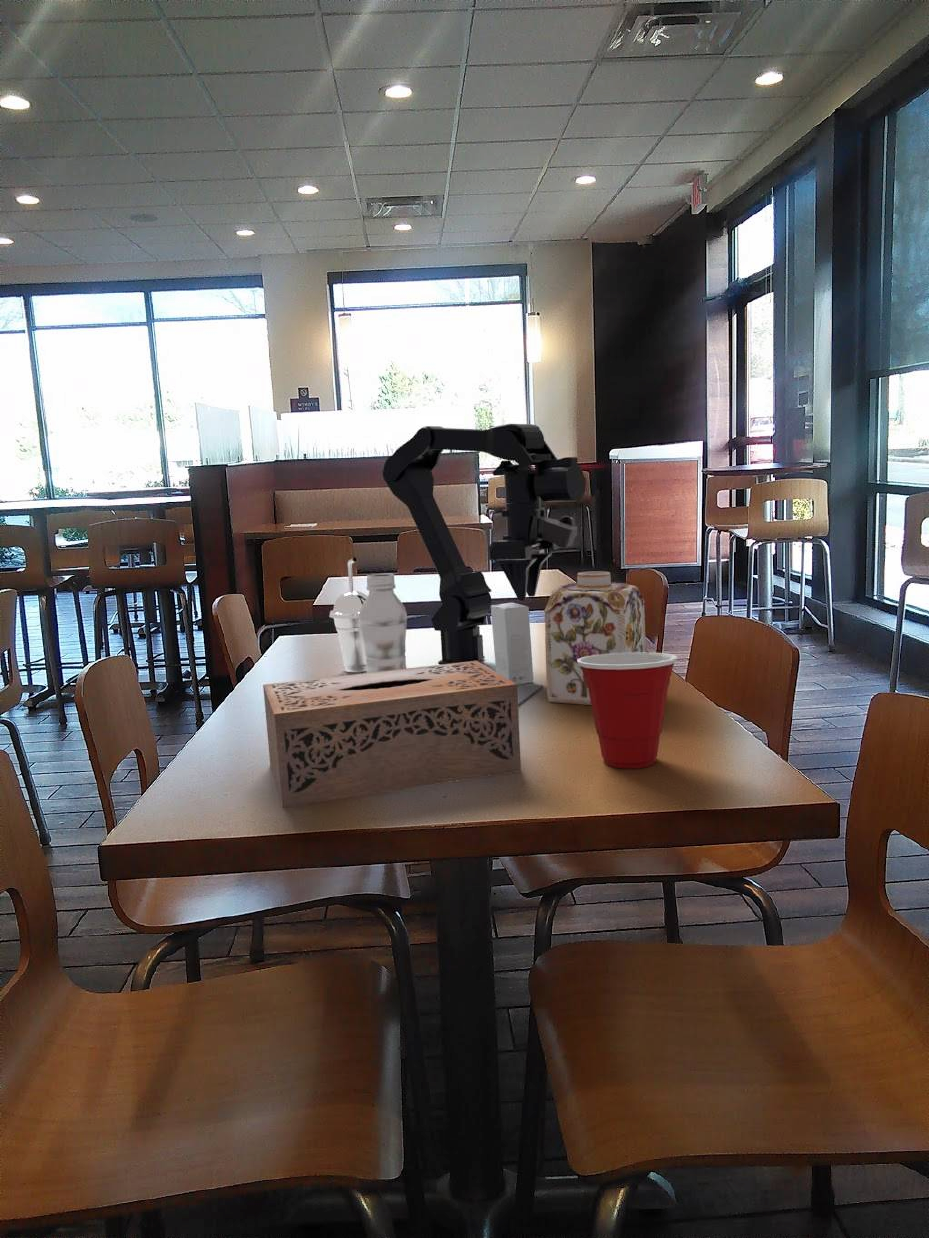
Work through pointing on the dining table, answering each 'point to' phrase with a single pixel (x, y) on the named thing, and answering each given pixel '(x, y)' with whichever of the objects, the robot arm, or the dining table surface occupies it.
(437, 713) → the tissue box cover
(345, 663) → the cup with straw
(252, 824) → the dining table surface
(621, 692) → the plastic cup
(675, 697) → the dining table surface
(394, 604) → the plastic bottle
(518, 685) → the mat
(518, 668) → the skincare box
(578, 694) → the decorative jar
